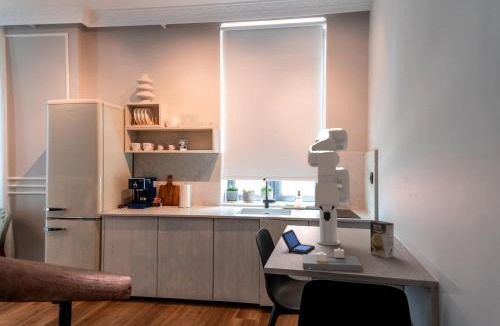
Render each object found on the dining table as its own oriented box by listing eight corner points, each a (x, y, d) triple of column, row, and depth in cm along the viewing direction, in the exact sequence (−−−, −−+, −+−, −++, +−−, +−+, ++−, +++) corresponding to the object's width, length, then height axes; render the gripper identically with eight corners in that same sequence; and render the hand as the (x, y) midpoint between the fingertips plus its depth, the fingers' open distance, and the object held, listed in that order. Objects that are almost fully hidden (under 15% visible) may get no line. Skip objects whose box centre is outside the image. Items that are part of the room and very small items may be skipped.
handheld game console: (305, 255, 164) (305, 236, 164) (280, 252, 171) (280, 234, 171) (315, 248, 178) (315, 230, 178) (292, 245, 185) (292, 228, 185)
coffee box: (369, 253, 165) (369, 221, 165) (378, 252, 168) (378, 220, 168) (385, 258, 157) (385, 224, 157) (394, 256, 160) (394, 222, 160)
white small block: (316, 259, 146) (316, 251, 146) (326, 259, 146) (325, 251, 146) (316, 261, 143) (316, 252, 143) (326, 261, 143) (326, 253, 143)
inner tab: (334, 255, 152) (334, 247, 152) (343, 256, 151) (343, 248, 151) (334, 257, 149) (334, 249, 149) (344, 257, 148) (344, 249, 148)
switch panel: (303, 259, 156) (303, 254, 156) (356, 261, 152) (356, 255, 152) (303, 268, 142) (302, 262, 142) (361, 271, 138) (361, 265, 138)
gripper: (343, 178, 149) (343, 219, 149) (309, 178, 151) (309, 219, 152) (345, 179, 141) (345, 222, 142) (309, 179, 144) (309, 222, 144)
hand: (327, 220), depth 147 cm, fingers closed
